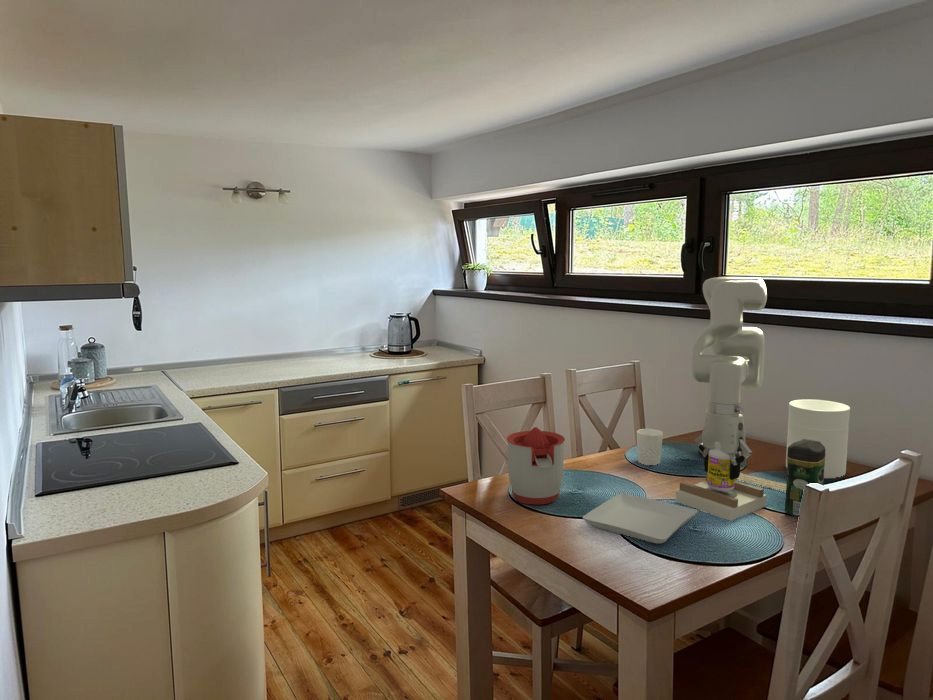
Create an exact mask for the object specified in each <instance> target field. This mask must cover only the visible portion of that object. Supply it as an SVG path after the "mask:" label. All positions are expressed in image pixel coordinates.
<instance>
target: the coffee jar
mask: <svg viewBox="0 0 933 700" xmlns="http://www.w3.org/2000/svg"><path fill="white" fill-rule="evenodd" d="M824 466H825V447H824V446H823V445H822V444H821V443H820V442H819V441H813V440H807V439H803V440H800V441H797V442H795V443H793V444H791V445H790V446H789V447H788V453H787V468H786V483H785V484H786V493H785V500H784V511H785V513H786V514H788V515H790V516H792V517H794V518H796V519H799V518H798V514H799V508H800V503H801V499H802V495H803V489H804V486H805V485H806V484H809V483H819V484H823V485H825V484H824V482H825V481H824V480H825V478H824Z"/></svg>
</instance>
